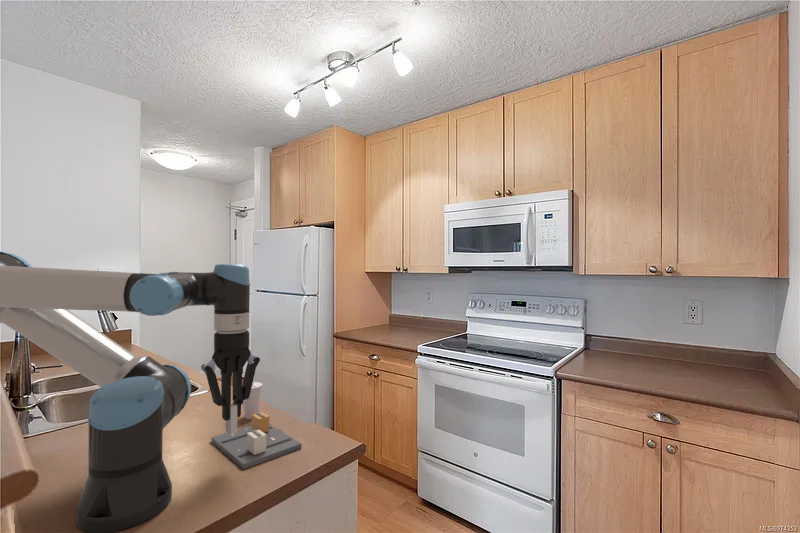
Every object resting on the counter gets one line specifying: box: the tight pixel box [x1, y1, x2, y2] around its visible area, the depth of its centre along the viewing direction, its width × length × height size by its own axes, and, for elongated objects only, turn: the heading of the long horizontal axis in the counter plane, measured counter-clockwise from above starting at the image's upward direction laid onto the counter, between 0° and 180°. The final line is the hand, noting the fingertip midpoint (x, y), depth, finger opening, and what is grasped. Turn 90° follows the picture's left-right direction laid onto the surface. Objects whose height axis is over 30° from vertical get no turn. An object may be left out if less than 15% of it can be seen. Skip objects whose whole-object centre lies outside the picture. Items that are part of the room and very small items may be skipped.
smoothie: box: [242, 379, 264, 420], centre depth 121 cm, size 6×6×14 cm
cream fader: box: [247, 430, 266, 455], centre depth 97 cm, size 3×4×4 cm
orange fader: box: [251, 411, 270, 433], centre depth 108 cm, size 3×4×4 cm
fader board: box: [210, 423, 302, 470], centre depth 102 cm, size 15×19×1 cm
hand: (231, 432), depth 92 cm, fingers closed
